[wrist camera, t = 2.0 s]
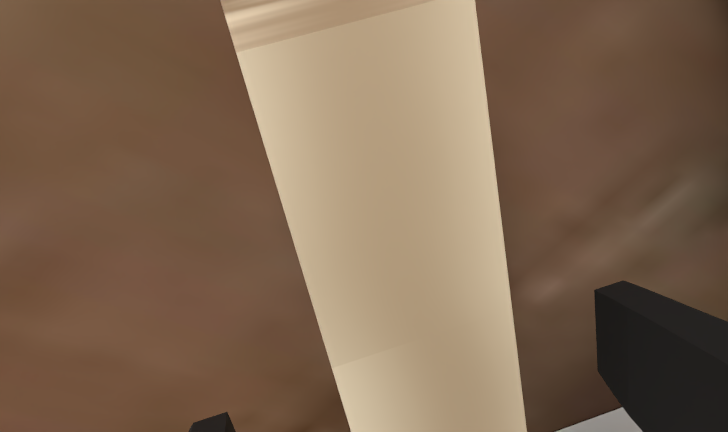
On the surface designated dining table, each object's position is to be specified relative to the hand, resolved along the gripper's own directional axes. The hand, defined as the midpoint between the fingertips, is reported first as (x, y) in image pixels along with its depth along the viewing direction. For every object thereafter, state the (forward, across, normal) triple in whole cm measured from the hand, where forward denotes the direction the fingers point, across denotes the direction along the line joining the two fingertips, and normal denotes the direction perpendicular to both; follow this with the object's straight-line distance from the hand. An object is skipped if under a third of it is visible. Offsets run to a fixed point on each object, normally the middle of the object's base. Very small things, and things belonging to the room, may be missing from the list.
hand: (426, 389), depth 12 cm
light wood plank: (+6, 0, 0) cm, 6 cm away
